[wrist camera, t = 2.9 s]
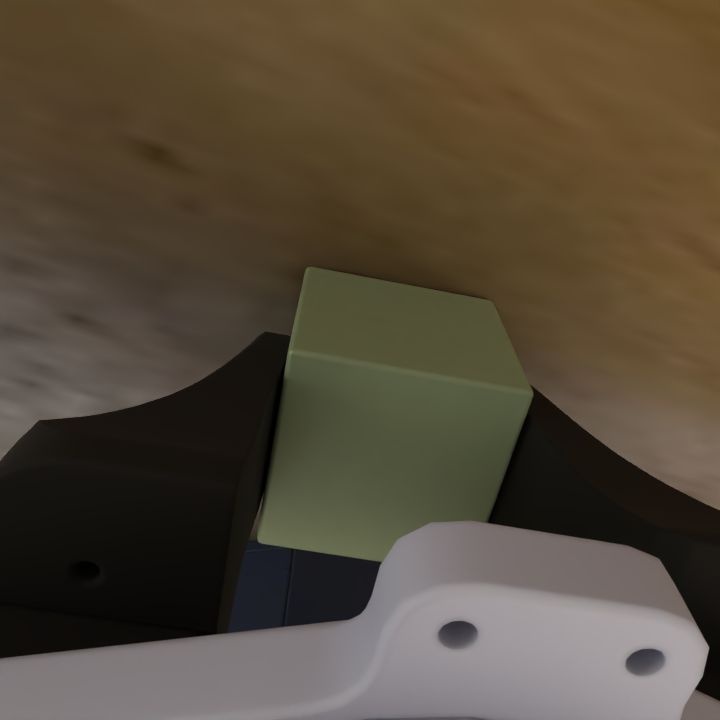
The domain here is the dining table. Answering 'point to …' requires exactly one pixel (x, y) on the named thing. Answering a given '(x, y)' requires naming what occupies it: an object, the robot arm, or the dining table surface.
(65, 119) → the dining table surface
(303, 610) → the pot
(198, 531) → the robot arm
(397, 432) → the block
